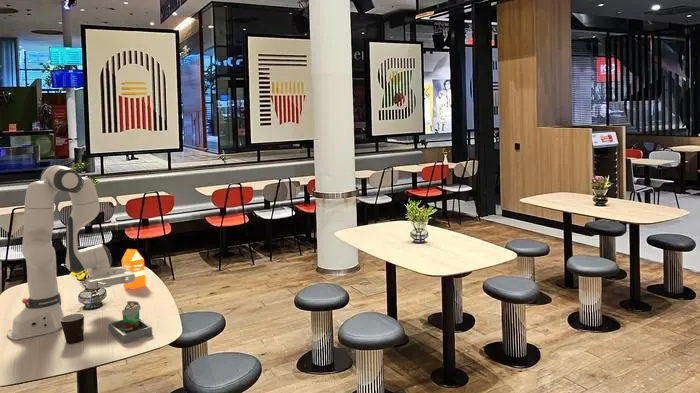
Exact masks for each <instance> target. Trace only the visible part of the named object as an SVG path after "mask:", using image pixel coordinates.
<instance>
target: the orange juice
mask: <svg viewBox="0 0 700 393" xmlns="http://www.w3.org/2000/svg"><path fill="white" fill-rule="evenodd" d="M121 268H126V270H129V271H131V272H133V273H134V274H135V281H134V282H129V283H128V284H125V283H123V288H125V289H130V290H131V289H132V290H134V289H139V288H143V287H146V286H147V282H146V271H145V270H146V269H145V259H144V257H143V256H142V255H141V254H140V252H139V251H138V250H137V249H133V248H127V249H126V250H125V253H124V255H123V256H122V258H121Z"/></svg>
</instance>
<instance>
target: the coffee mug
mask: <svg viewBox="0 0 700 393" xmlns="http://www.w3.org/2000/svg"><path fill="white" fill-rule="evenodd" d="M60 321H61V325H62V327H61V328H62V332H63V335H64V339H65V343H66V344H67V345H77V344H79V343H82V342H83V341H84V340H85V339H84V338H85V333H84V332H85V328H84V327H85V315H84V314H83V313H72V314H67V315H65V316H64V317H62V318H61V319H60Z"/></svg>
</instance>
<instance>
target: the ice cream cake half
mask: <svg viewBox="0 0 700 393" xmlns="http://www.w3.org/2000/svg"><path fill="white" fill-rule="evenodd" d="M126 303H127V304H126V306H124V309H122V311H121V314H122V320H123V321H124V328H125V333H126V332H131V331H134V330H137V329H138V328H139V327H140V319H141V318H140V311H141V305H140V303H139V302H138V301H135V300H134V301H133V300H129V301H127V302H126Z"/></svg>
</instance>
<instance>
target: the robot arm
mask: <svg viewBox="0 0 700 393" xmlns="http://www.w3.org/2000/svg"><path fill="white" fill-rule="evenodd" d="M58 192H62V193H68V195H69V197H70V200H71V206H72V207H71V208H72V209H71V212H70V215H69V216H68V217H67V218H66V221H65V222H66V225H65V229H66V230H65V235H66V236H65V241H66V244H65V246H66V250H65V252H66V253H65V265H66V269H67V270H68V271H69V272H71V273H74V274H81V273H82V272H85V271H87V272H86V274H87V276H88V277H87V278H86V279H85V280H83V281H82V284H84V285H85V286H86V288H87V290H94V289H99V288H102V289H105V288H111V287H112V286H116V285H121V284H123V283H125V284H128V283H129V282H134V281H135V274H134V273H133V272H131V271H129V270H126V268H122V267H112V263H113V258H112V253H111V251H110V249H109V248H108V247H107V246H106V245H104V244H102V243H100V244H96V245H93V246H92V245H91V246H89V247H86V248H81V249H78V248H79V247H78V235H79V234H78V233H79V232H80V230H81V229H82V228H83V227H85V226H86V225H87V224H88V223H90V222H92V221H94V220H95V219H96V217H97V216H98V215H99V213H100V210H101V206H100V201H99V196H98V192H97V189H96V186H95V184H94V182H93V180H92V179H91V178H89V177H86V176H85V177H84V176H81V175H80V173H79V172H78V171H77V170H75V169H73V168H72V167H67V166H65V165H58V164H53V165H49V166H46V167H45V168H44V169H43V170H42V171H41V174H40V175H39V177H38V178H37V180H36V181H33V182H31V183H29V184H28V185H27V187H26V191H25V198H24V209H23V210H24V211H23V213H24V215H23V216H24V217H23V231H22V232H23V233H22V244H21V247H22V248H21V252H22V253H21V254H22V255H23V257H24V259H25V264H26V275H27V277H26V278H27V279H26V280H27V287H28V288H27V289H28V296H29V297H28V298H26V297H23V298H22V299H21V302H22V303H23V304H24V305H25V307H24V308H23V310H21V311H20V312H18V313H17V315H16V316H15V317H13V320H12V327H11V328H9V329H8V330H7V331H6V335H7V337H8V339H10V340H13V341H15V340H16V341H19V340H22V339H28V338H32V337H38V336H42V335H47V334H53V333H56V332H57V331H58V330H59V329H61V328H62V325H61V321H60V319H61V318H62V317H64V313H63V312H64V311H63V310H62V298H61V293H60V292H59V286H58V285H59V284H58V279H57V278H58V277H57V255H56V250H55V248H54V246H53V245H52V238H53V230H54V227H55V226H54V225H55V199H56V198H55V197H56V195H57V194H58Z"/></svg>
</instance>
